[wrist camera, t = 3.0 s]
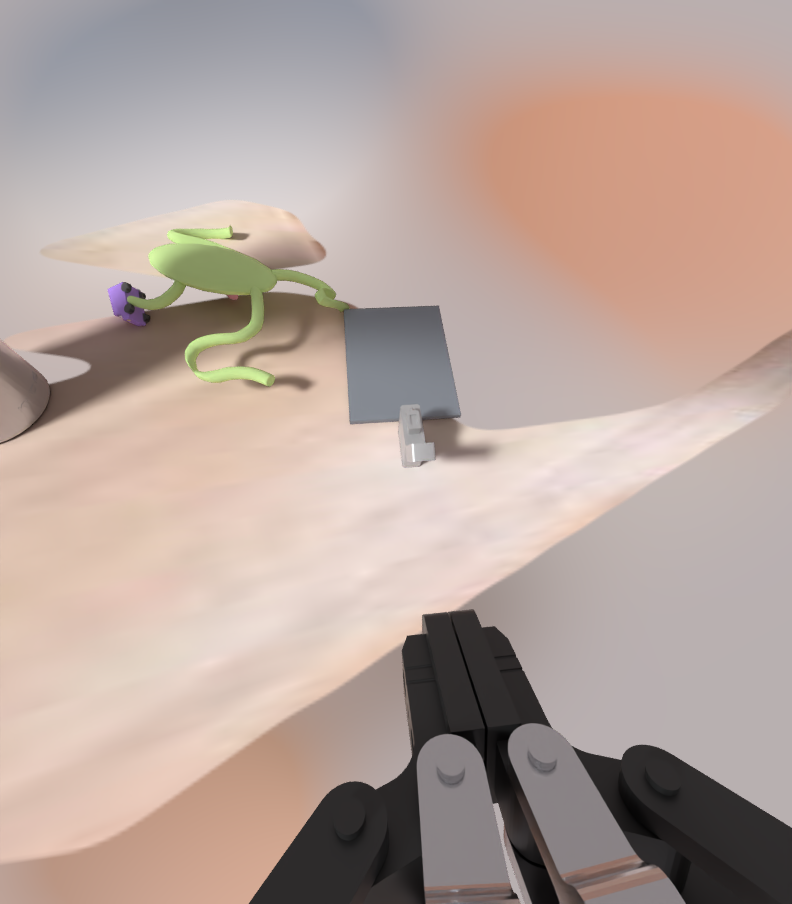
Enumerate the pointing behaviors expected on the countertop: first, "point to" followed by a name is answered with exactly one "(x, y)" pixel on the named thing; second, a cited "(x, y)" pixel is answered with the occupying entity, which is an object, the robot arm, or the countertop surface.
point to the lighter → (413, 437)
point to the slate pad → (398, 364)
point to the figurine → (218, 274)
